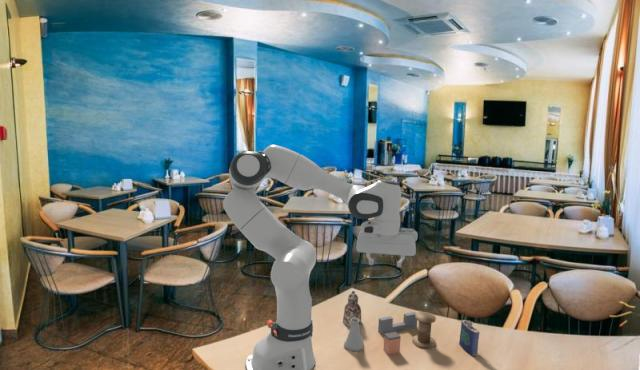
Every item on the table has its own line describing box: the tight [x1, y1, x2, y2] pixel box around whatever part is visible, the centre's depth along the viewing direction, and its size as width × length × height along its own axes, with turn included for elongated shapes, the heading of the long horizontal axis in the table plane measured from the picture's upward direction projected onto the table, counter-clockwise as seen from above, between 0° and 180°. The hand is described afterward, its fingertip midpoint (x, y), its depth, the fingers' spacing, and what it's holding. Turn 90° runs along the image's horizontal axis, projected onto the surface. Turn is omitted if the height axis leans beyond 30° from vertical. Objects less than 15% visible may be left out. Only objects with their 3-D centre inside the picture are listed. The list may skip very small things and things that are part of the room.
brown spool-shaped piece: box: [411, 311, 437, 349], centre depth 149 cm, size 8×8×10 cm
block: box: [383, 331, 402, 355], centre depth 143 cm, size 4×3×6 cm
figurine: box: [342, 290, 362, 327], centre depth 162 cm, size 7×7×12 cm
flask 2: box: [458, 319, 480, 358], centre depth 145 cm, size 9×3×11 cm, turn 13°
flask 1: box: [343, 318, 365, 352], centre depth 145 cm, size 7×7×10 cm
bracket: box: [377, 311, 418, 335], centre depth 158 cm, size 16×2×6 cm, turn 112°
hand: (384, 265), depth 143 cm, fingers open, 8 cm apart
